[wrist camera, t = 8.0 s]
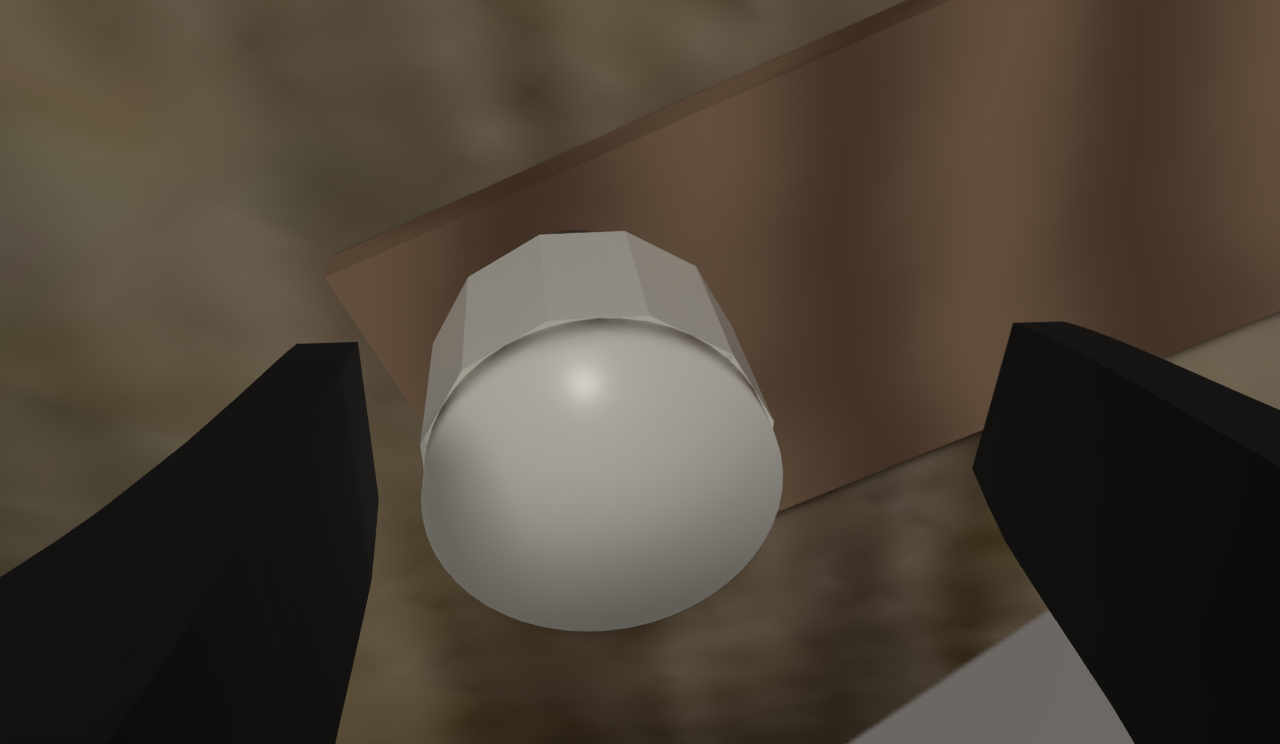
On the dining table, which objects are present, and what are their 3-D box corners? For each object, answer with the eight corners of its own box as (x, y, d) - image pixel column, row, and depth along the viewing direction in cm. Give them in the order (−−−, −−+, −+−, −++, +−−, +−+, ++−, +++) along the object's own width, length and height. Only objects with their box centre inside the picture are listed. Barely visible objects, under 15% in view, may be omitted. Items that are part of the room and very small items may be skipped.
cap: (738, 226, 17) (799, 334, 13) (722, 475, 20) (768, 616, 16) (420, 239, 16) (399, 356, 13) (451, 495, 19) (441, 645, 16)
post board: (1298, -174, 17) (1634, -162, 12) (1299, 272, 23) (1534, 409, 17) (331, 256, 19) (274, 423, 14) (541, 577, 24) (555, 783, 19)
